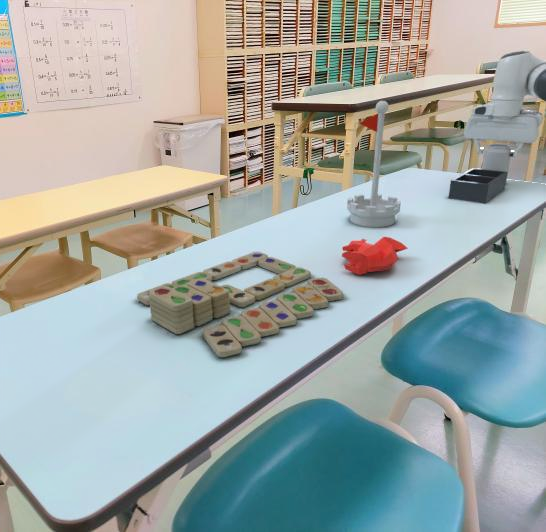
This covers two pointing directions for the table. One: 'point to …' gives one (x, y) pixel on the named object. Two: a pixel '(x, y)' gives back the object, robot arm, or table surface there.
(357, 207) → the flag stand
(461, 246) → the table surface
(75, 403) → the table surface
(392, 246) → the animal figurine
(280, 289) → the pile of dominoes
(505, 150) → the can
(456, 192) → the dark grey divided tray
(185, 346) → the table surface
